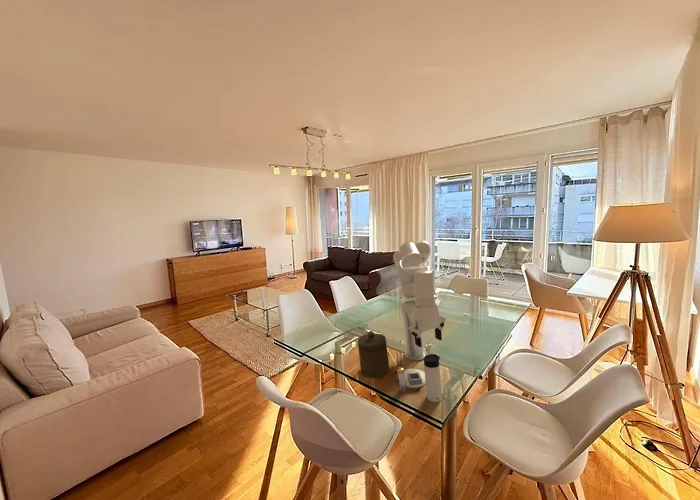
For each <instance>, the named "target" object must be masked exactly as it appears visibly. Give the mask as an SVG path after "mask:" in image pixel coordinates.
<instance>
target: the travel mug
mask: <svg viewBox="0 0 700 500" xmlns="http://www.w3.org/2000/svg"><path fill="white" fill-rule="evenodd" d="M440 359H441V357H440V356H439V355H437V354H435V353H434V354H433V353H431V354H427V355H426V356H425V357H424V359H423V367H424V372H425V381H426V384H425V390H426V399H427V400H428V401H430V402H433V403H439V402H441V401H442V399H443V391H442V382H441V381H442V380H441V367H440Z"/></svg>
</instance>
